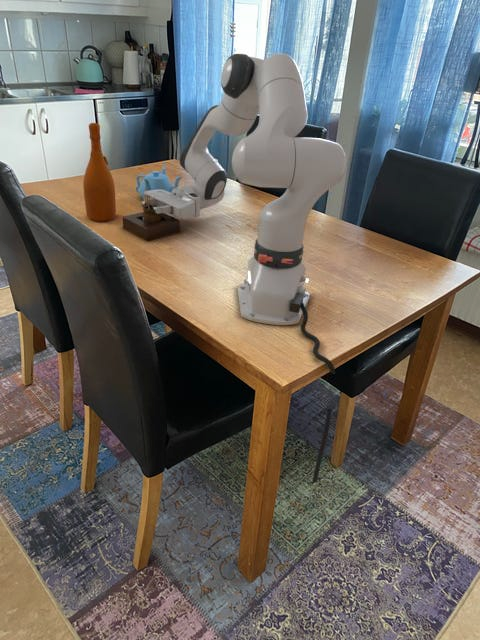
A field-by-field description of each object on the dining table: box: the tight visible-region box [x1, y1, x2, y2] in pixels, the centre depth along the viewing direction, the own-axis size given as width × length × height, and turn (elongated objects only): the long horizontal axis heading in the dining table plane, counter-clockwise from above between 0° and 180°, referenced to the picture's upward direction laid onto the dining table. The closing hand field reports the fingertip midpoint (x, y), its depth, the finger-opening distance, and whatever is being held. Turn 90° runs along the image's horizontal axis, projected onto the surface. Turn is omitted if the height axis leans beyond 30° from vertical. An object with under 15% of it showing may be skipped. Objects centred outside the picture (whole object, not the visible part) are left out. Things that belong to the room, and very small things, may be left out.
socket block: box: [122, 211, 181, 242], centre depth 157 cm, size 13×13×4 cm
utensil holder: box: [142, 193, 161, 224], centre depth 155 cm, size 6×6×12 cm
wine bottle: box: [82, 122, 117, 222], centre depth 157 cm, size 10×10×30 cm
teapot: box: [135, 165, 183, 200], centre depth 183 cm, size 15×15×10 cm
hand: (148, 207), depth 154 cm, fingers closed on utensil holder, 5 cm apart
